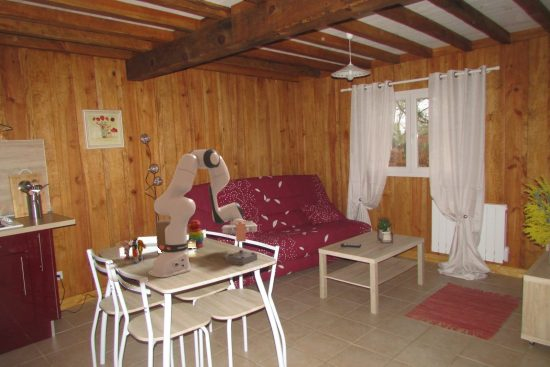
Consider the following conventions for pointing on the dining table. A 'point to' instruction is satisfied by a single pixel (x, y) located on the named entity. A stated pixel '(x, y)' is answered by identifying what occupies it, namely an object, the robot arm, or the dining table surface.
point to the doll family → (134, 249)
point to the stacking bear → (196, 233)
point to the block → (161, 231)
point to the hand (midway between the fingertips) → (240, 231)
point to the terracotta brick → (240, 231)
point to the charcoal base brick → (242, 257)
